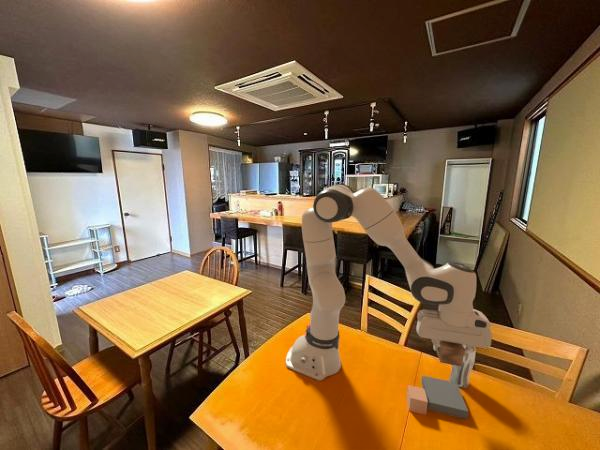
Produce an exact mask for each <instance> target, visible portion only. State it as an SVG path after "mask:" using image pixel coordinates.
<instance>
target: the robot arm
mask: <svg viewBox="0 0 600 450" xmlns="http://www.w3.org/2000/svg"><path fill="white" fill-rule="evenodd" d="M351 217H353V218H354V219H355V220H356V221H357V222H358V223H359V224H360V226H361V227H362V229H363V230H364V232H365V233H366V234H367V235H368V236H369V237H370V239H371V240H372V241H373V242H374V243H375V244H376V245H379V246H382V247H387V248H388V249H390V250H391V252H392V253H393V254H394V256H395V257H396V258H397V259H398V261H399V262H400V264H401V265H402V266H403V268H404V271H405V272H404V273H405V277H406V280H407V283H408V286H409V289H410V293H411V295H412V297H413V298H414V299H415V300H417V301H418V302H419V303H422V304H423V305H424V304H425V305H438V310H434V309H433V310H431V309H429V310H428V309H422V310H419V311H417V317H416V318H417V323H416V328H415V329H416V333H417V335H418V336H419V338H422V339H423V338H424V339H430V340H431V343H432V344H433V350H434V351H435V352H436V351H440V350H439V349H440V346H439V344H437V340H440V341H446V342H452V343H458V344H464V346H463V348H464V356H466V352H468V351H469V350H470V349H471V348H472V346H474V347H475V348H476V347H477V348H483V349H488V348H490V347H491V345H492V331H491V325H492V323H491V322H490V321H489V319H488V318H487V316H486V315H485V314H484V313H483V312H482V311H479V310H477V309H475V308H474V305H473V302H474V300H475V297H476V293H477V274H476V272H475V271H474V270H473V269H472V268H471V267H469V266H468V265H465V264H463V263H459V262H454V261H450V262H447V263H445V264H444V265H441V266H439V267H436V268H435V267H434V265H433V264H432V263H430V262H429V261H427V260H425V258H422V257H421V256H420V255H419V254H418V253H417V251H416V250H415V249H414V247H413V246H412V245H411V243H410V242H409V241H408V239H407V237H406V233H405V228H404V225H403V222H402V221H401V219H400V217H399V215H398V214H397V212H396V211H395V209H394V208H393V206H391V204H390V203H389V202H388V200H387V199H386V198H385V197H384V196H383V195H382V194H381V193H380V192H379V191H378V190H376V188H373V187H364V188H361V189H359V190H358V191H356V192H354V189H353V188H351V187H350V186H349V185H348V184H344V183H339V184H338V183H337V184H334V185H330V186H328V187H326V188H325V189H323V190H322V191H320V192H318V194H317V195H316V197H315V198H314V200H313V205H312V207H310V208H308V209H306V210H305V211H304V212H303V214H302V217H301V233H302V241H303V247H304V254H305V258H306V259H305V261H306V270H307V278H308V284H309V287H310V291H311V295H312V307H311V310H310V321H309V322H308V323H307V325H306V330H305V332H304V334H303V335H301V336H299V337H297V338H296V340H295V341H294V343H293V345H292V346H291V347H290V348H289V350H288V352H287V354H286V357H285V366H286V368H288V369H290V370H293V371H295V372H298V373H300V374H303V375H304V376H307V377H309V378H312V379H314V380H317V381H323V380H324V379H325V378H326V377H329V376H333V375H335V374H337V373H338V372H339V371H340V370H341V367H342V360H341V356H340V350H339V346H340V339H341V337H340V331H339V323H340V321H339V320H340V313H341V309H342V308H343V307H344V305H345V303H346V294H345V289H344V287H343V285H342V283H341V282H340V280H339V278H338V276H337V274H336V269H335V267H336V264H335V263H336V257H337V254H336V247H335V241H334V232H333V223H337V222H339V221H342V220H347V219H349V218H351Z"/></svg>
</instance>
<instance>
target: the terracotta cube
mask: <svg viewBox="0 0 600 450" xmlns="http://www.w3.org/2000/svg"><path fill="white" fill-rule="evenodd" d="M406 401H407V406H408V411H409V412H413V413H417V414H421V415H425V416H426V415H427V412H428V407H427V404H428V401H427V397H426V393H425V389H423V387H418V386H413V385H409V384H408V385H407V392H406Z"/></svg>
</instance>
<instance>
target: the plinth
mask: <svg viewBox="0 0 600 450" xmlns="http://www.w3.org/2000/svg"><path fill="white" fill-rule="evenodd" d="M421 385H422V387H421V388H423V389H425V393H426V397H427V401H428V404H427V411H432V412H436V413H440V414H444V415H448V416H452V417H456V418H460V419H465V420H468V415H469V409H468V407H467V405H466V402H465V400H464V398H463V394H462V393H461V390H460V387H458V385H457V383H456V382H451V380H446V379H445V380H444V379H441V378H435V377H431V376H426V375H421Z"/></svg>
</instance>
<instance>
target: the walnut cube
mask: <svg viewBox="0 0 600 450" xmlns="http://www.w3.org/2000/svg"><path fill="white" fill-rule="evenodd" d="M436 343H437V344H439V346H440V349H439V350H440V351H435V352H436V355H437V356H438V360H439V362H440V363H442V364H446V365H451V366H452V365H456V366H461V367H462V363H463V357H464V348H463V346H462V344H458V343H452V342H446V341H440V340H437V342H436Z"/></svg>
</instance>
